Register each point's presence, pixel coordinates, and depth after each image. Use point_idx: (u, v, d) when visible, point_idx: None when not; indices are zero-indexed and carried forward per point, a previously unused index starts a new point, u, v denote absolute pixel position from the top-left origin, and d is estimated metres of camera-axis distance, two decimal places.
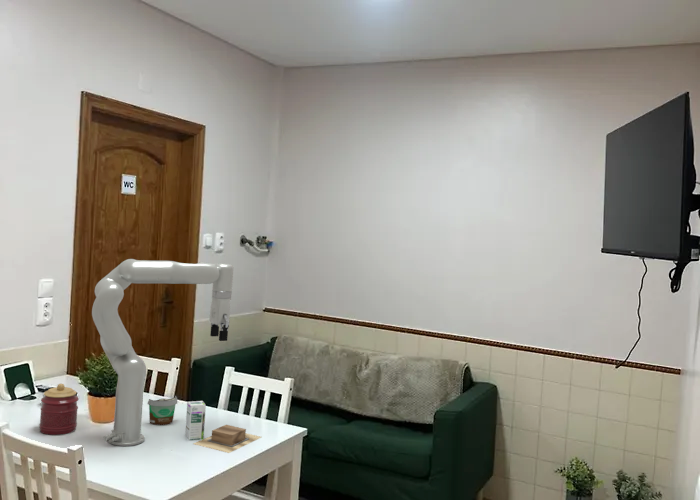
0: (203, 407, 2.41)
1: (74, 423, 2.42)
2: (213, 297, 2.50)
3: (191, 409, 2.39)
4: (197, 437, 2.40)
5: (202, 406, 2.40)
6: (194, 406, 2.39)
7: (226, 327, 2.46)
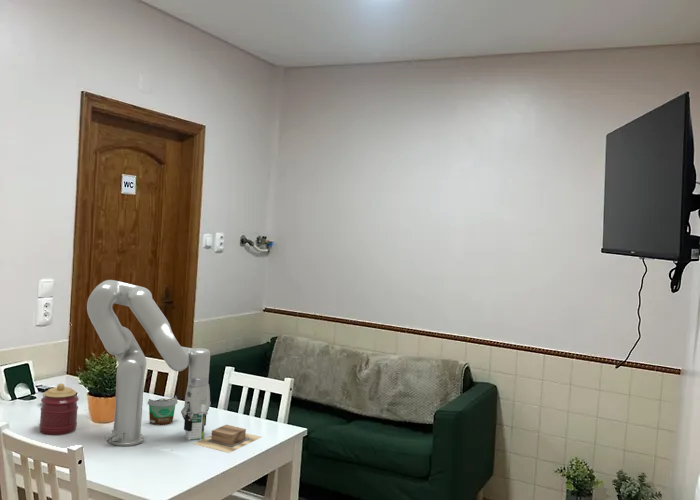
0: (203, 407, 2.41)
1: (74, 423, 2.42)
2: (207, 384, 2.41)
3: None
4: (197, 437, 2.40)
5: (202, 406, 2.40)
6: None
7: None
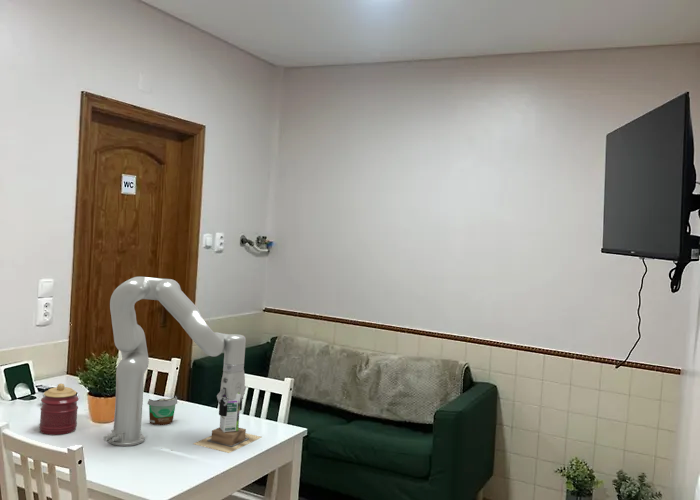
0: (238, 396, 2.40)
1: (74, 423, 2.42)
2: (242, 371, 2.41)
3: None
4: (232, 426, 2.39)
5: (237, 395, 2.40)
6: None
7: None
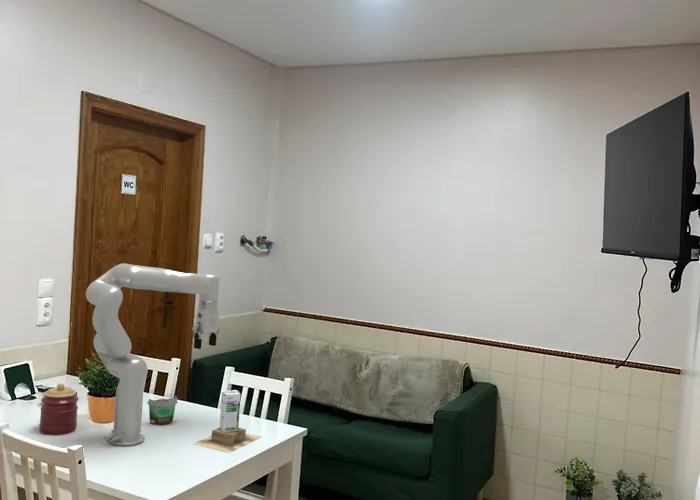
0: (238, 396, 2.40)
1: (74, 423, 2.42)
2: (216, 307, 2.58)
3: (226, 398, 2.38)
4: (232, 426, 2.40)
5: (237, 395, 2.40)
6: (229, 395, 2.39)
7: None
